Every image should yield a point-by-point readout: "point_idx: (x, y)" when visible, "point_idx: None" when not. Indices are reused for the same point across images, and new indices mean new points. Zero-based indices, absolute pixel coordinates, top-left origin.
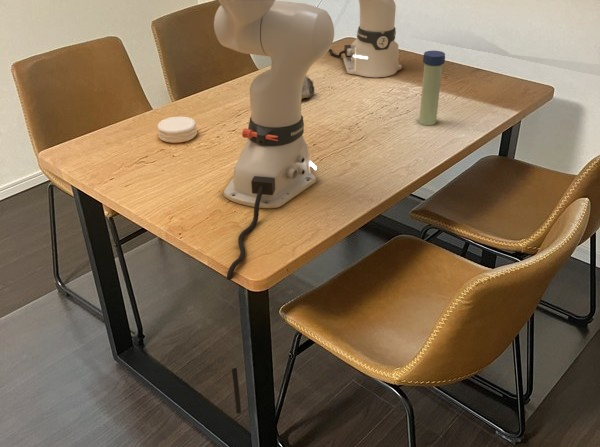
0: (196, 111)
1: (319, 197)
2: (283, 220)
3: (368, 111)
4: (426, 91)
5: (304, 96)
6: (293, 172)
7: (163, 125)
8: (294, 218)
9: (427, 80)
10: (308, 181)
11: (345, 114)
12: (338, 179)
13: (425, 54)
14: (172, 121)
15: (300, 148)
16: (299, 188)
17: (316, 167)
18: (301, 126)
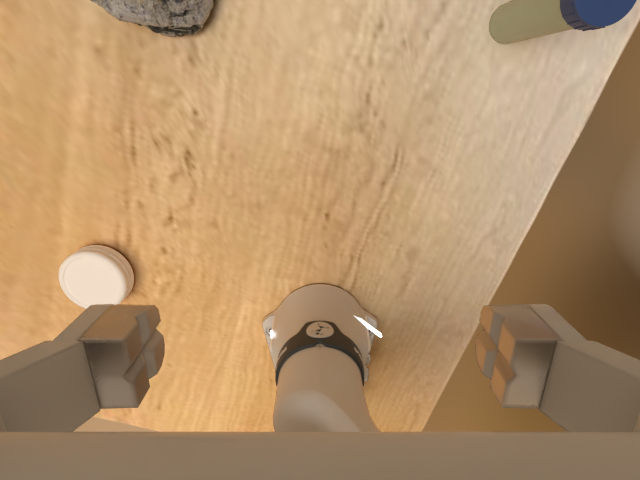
0: (46, 167)
1: (395, 350)
2: (374, 403)
3: (370, 15)
4: (536, 34)
5: (208, 15)
6: (366, 381)
7: (78, 296)
8: (384, 396)
9: (551, 30)
10: (371, 335)
11: (328, 55)
12: (403, 302)
13: (579, 11)
14: (78, 278)
15: (364, 363)
16: (367, 354)
17: (381, 335)
18: (364, 373)
